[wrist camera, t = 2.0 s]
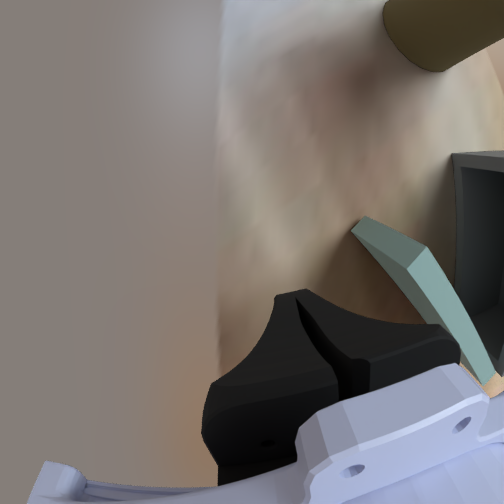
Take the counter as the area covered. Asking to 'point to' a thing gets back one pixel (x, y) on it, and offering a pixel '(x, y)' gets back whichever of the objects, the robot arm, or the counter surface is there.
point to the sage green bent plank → (426, 289)
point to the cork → (443, 29)
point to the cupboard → (481, 246)
